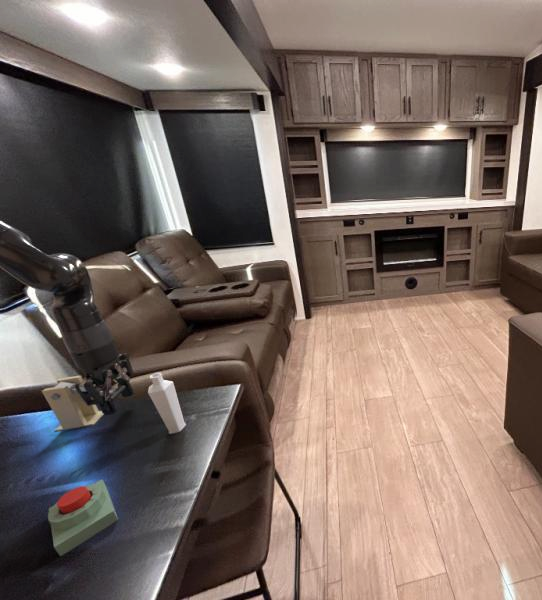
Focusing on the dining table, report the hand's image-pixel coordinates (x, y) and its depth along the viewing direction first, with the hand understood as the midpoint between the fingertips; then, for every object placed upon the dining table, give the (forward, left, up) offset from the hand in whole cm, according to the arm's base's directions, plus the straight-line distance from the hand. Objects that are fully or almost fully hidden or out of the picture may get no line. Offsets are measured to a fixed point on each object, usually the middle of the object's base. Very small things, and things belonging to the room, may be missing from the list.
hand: (119, 404), depth 77 cm
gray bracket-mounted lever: (-5, 0, +4) cm, 6 cm away
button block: (+10, -28, -4) cm, 30 cm away
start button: (+10, -28, 0) cm, 30 cm away
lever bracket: (-9, 0, -4) cm, 10 cm away
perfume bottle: (+16, -9, -4) cm, 19 cm away
